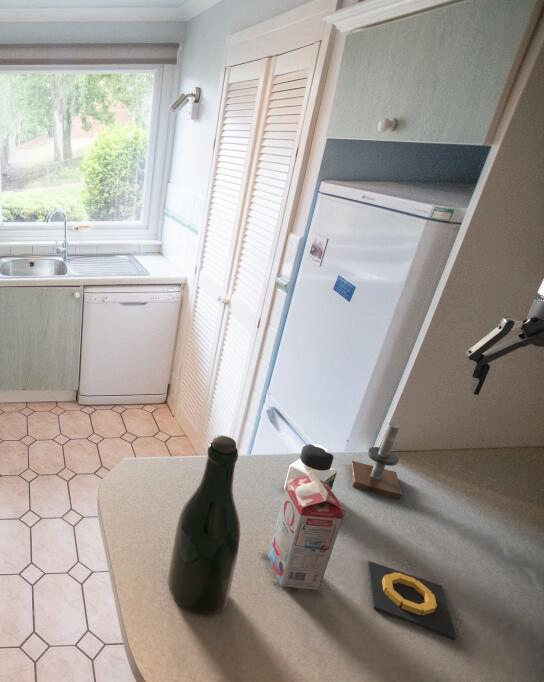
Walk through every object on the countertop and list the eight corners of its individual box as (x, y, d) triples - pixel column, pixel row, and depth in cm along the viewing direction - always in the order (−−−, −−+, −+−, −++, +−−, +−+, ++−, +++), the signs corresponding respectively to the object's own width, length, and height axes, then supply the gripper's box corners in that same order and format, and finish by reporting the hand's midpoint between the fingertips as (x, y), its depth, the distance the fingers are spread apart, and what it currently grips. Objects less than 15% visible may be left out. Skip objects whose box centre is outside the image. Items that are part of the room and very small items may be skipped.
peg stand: (394, 476, 110) (415, 421, 104) (399, 499, 103) (422, 441, 97) (350, 465, 114) (367, 411, 108) (352, 486, 107) (371, 429, 101)
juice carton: (280, 585, 83) (307, 491, 75) (268, 556, 89) (291, 465, 81) (319, 590, 82) (350, 495, 74) (303, 559, 88) (331, 468, 80)
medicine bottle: (314, 507, 101) (327, 464, 96) (283, 489, 106) (294, 447, 102) (330, 495, 105) (343, 452, 100) (299, 478, 110) (310, 437, 105)
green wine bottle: (221, 571, 86) (252, 424, 73) (233, 623, 77) (271, 465, 64) (164, 563, 88) (185, 418, 75) (169, 613, 78) (194, 457, 66)
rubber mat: (440, 587, 82) (441, 585, 82) (455, 640, 74) (456, 637, 73) (367, 562, 88) (368, 560, 87) (373, 609, 79) (374, 606, 79)
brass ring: (429, 588, 82) (431, 584, 81) (437, 622, 76) (439, 617, 75) (380, 571, 85) (382, 567, 84) (384, 602, 79) (386, 597, 79)
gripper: (481, 295, 86) (443, 393, 94) (682, 316, 74) (618, 425, 83) (470, 285, 92) (435, 378, 100) (655, 303, 80) (598, 406, 89)
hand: (518, 399), depth 91 cm, fingers open, 13 cm apart
